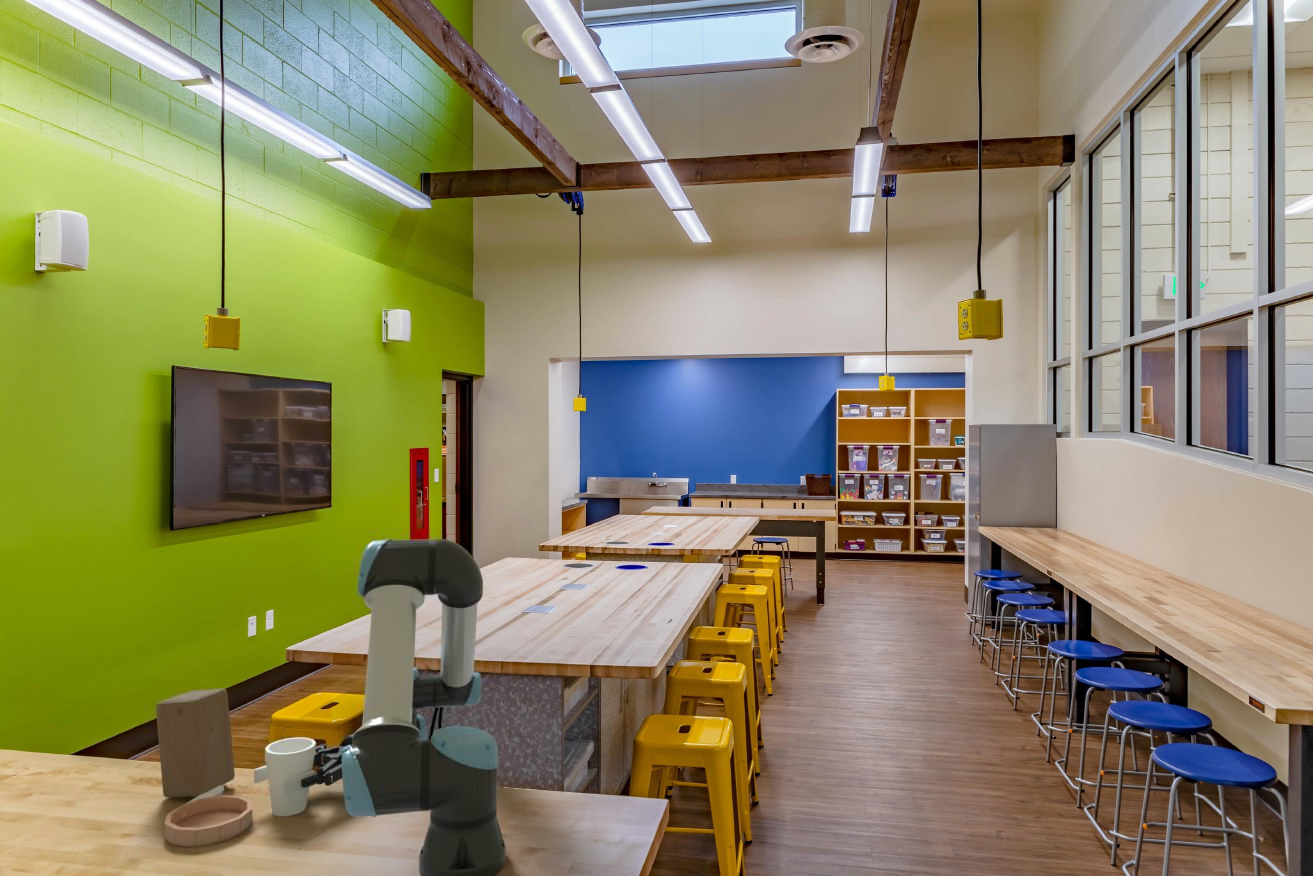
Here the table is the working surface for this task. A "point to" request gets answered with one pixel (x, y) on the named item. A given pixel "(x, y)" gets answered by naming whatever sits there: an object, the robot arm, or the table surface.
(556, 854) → the table surface
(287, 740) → the foam cup
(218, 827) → the bowl
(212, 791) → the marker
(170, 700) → the wooden block
